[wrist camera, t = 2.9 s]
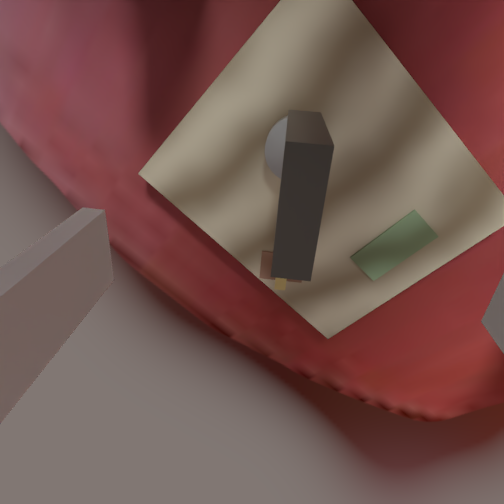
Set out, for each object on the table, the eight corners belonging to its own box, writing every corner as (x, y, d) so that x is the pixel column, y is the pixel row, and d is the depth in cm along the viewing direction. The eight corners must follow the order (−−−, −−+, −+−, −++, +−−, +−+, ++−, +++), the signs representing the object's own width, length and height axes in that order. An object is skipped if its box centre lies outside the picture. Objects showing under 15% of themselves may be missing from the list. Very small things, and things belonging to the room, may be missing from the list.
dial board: (147, 166, 30) (137, 174, 28) (315, -38, 22) (317, -46, 21) (326, 324, 36) (328, 340, 34) (505, 205, 28) (520, 216, 27)
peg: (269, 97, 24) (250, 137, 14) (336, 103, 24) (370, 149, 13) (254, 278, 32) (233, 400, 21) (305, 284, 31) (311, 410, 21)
